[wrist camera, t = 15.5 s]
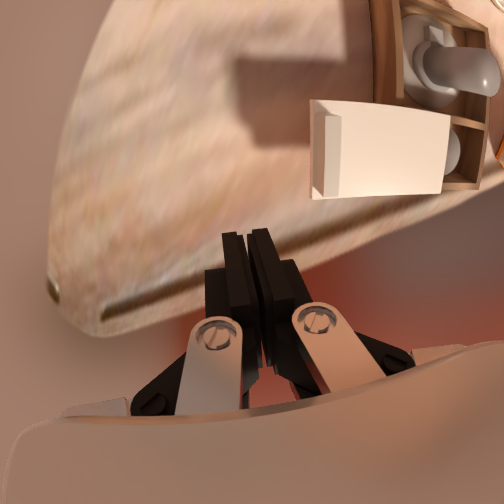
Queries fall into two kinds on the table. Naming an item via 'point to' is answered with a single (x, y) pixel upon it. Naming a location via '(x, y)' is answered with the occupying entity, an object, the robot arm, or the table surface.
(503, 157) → the supplement box
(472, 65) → the grey cylinder
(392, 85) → the housing
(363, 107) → the lid
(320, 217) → the table surface
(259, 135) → the table surface
